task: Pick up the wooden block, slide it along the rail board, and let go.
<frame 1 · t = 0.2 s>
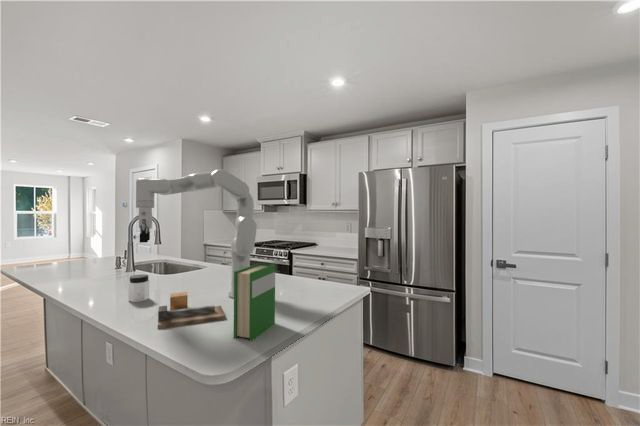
hand: (144, 241, 141), 31 cm above the counter, tool pointing down, fingers open, 9 cm apart
hardback book: (255, 330, 115), on the counter
rail board: (192, 318, 127), on the counter
wooden block: (178, 309, 137), on the counter
jar: (139, 300, 151), on the counter
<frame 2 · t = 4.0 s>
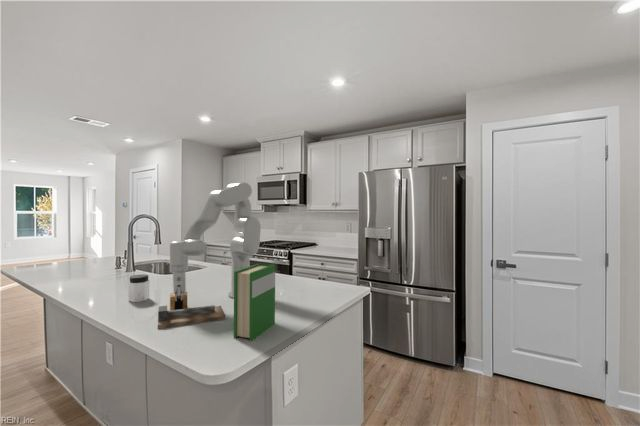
hand: (178, 307, 137), 1 cm above the counter, tool pointing down, fingers closed on wooden block, 6 cm apart
wooden block: (178, 309, 137), on the counter, touching gripper
everything else where it was.
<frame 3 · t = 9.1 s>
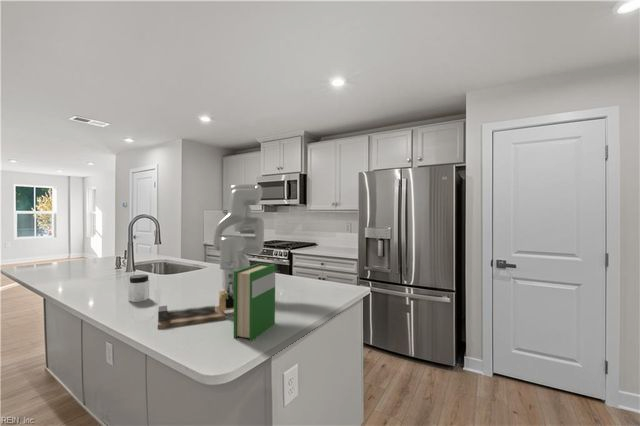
hand: (228, 305, 133), 4 cm above the counter, tool pointing down, fingers closed on wooden block, 6 cm apart
wooden block: (228, 307, 133), point 2 cm above the counter, touching gripper
everything else where it was.
when the fingers open (3 cm above the counter, at t = 14.7 s): wooden block stays where it is, resting on rail board.
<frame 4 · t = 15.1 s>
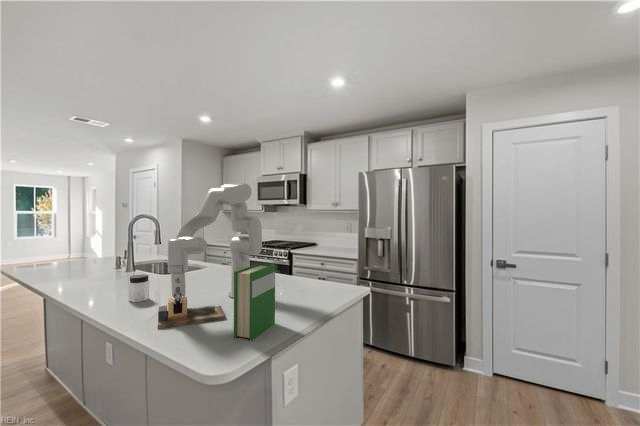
hand: (177, 309, 125), 4 cm above the counter, tool pointing down, fingers open, 9 cm apart
wooden block: (177, 316, 125), point 1 cm above the counter, touching rail board
everything else where it was.
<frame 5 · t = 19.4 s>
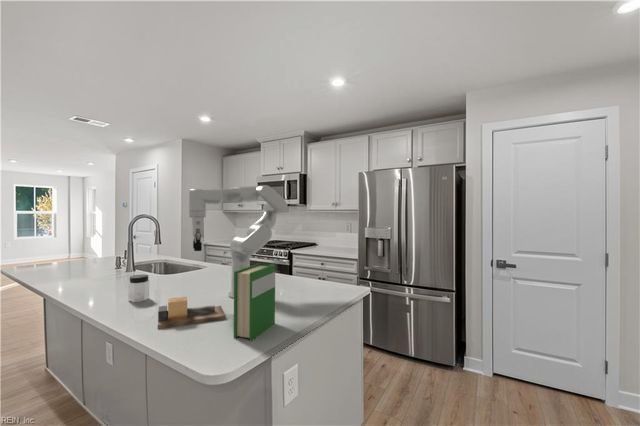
hand: (197, 249, 146), 26 cm above the counter, tool pointing down, fingers open, 9 cm apart
nothing on the counter moved.
at the end: wooden block 0.0 cm from the target spot, point 1.5 cm above the counter; wooden block tilted 0°; the gripper is holding nothing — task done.
